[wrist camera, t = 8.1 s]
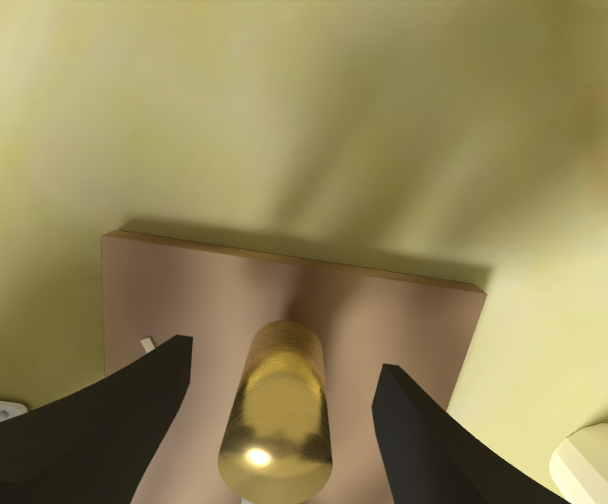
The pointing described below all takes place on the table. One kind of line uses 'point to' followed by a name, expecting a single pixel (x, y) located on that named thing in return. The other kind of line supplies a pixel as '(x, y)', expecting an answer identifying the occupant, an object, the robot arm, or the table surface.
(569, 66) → the table surface
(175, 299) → the bench base
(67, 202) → the table surface
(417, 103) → the table surface
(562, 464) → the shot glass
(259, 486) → the lever
